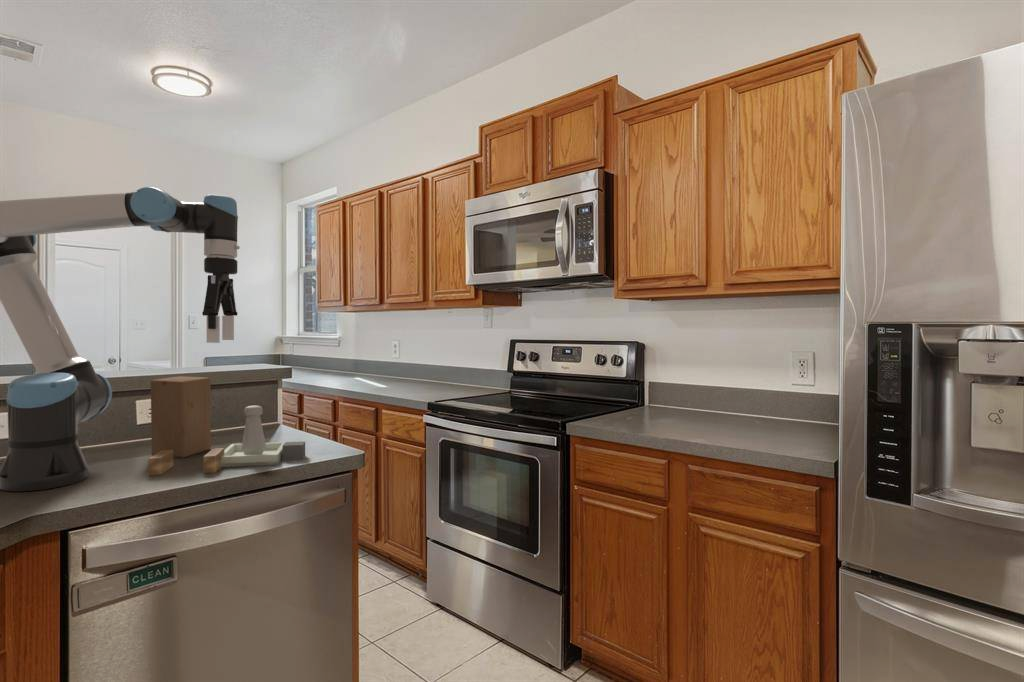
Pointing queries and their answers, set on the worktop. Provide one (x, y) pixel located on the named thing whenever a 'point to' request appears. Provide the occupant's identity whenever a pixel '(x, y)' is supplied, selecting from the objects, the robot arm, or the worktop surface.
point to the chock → (293, 450)
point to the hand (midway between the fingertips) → (221, 341)
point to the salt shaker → (253, 432)
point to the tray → (252, 456)
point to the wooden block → (181, 415)
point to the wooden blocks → (165, 461)
